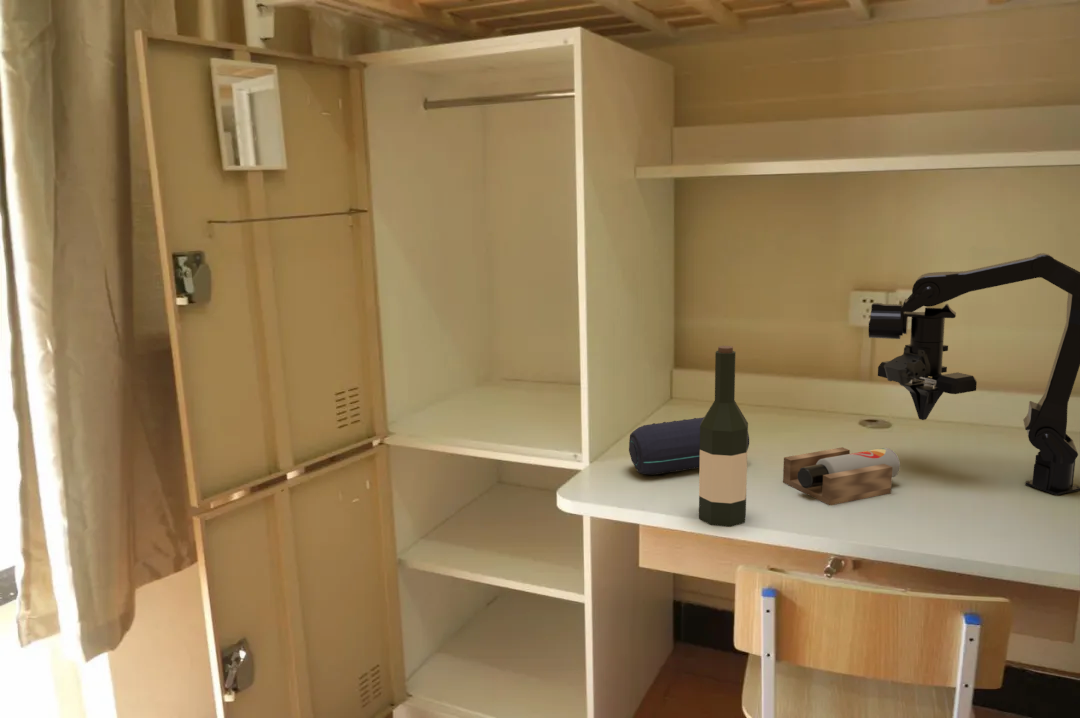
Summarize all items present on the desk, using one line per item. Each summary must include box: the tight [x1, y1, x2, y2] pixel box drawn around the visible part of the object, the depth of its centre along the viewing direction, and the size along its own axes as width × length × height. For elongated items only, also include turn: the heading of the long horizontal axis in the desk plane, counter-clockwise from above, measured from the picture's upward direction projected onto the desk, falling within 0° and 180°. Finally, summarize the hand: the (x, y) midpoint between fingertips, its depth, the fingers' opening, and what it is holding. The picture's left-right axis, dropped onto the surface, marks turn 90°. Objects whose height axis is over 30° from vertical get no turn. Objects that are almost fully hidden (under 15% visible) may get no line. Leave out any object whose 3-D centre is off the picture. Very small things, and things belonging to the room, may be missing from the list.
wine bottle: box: [698, 345, 749, 528], centre depth 140 cm, size 8×8×30 cm
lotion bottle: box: [797, 447, 901, 488], centre depth 153 cm, size 6×6×20 cm
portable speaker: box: [628, 416, 750, 476], centre depth 168 cm, size 25×10×10 cm, turn 109°
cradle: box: [782, 446, 893, 506], centre depth 155 cm, size 14×13×5 cm
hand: (922, 419), depth 160 cm, fingers closed
